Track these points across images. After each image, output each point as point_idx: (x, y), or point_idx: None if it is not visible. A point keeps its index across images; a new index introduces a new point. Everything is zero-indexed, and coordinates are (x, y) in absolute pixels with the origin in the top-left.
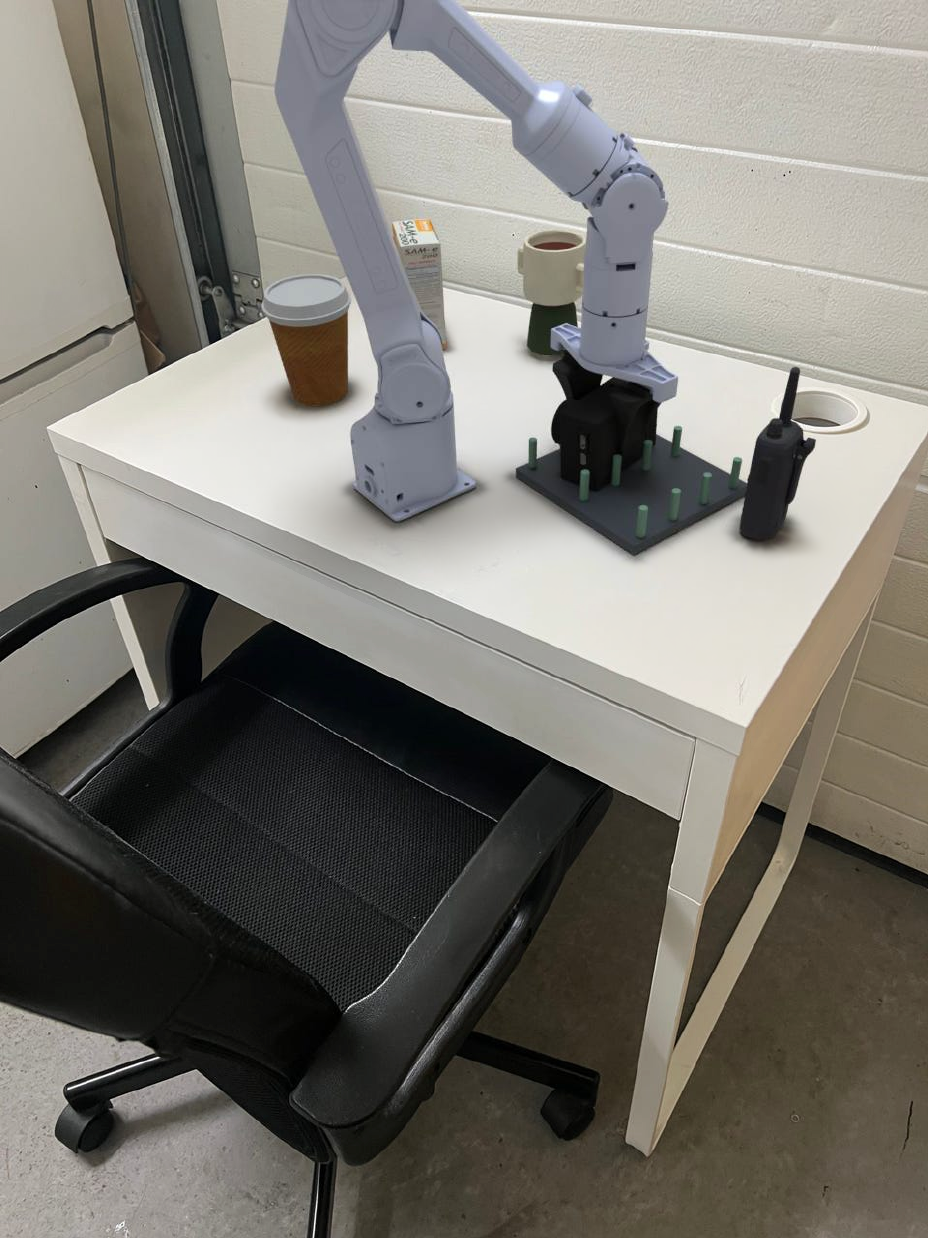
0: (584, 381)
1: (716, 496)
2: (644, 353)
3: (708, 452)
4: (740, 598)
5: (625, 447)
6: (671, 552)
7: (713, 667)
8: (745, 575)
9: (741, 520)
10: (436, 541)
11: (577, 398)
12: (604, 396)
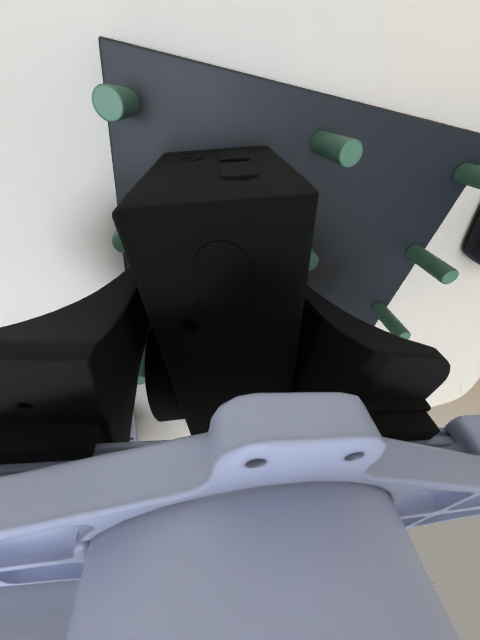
0: (128, 383)
1: (431, 221)
2: (394, 495)
3: (370, 2)
4: (460, 332)
5: None
6: (381, 326)
7: (440, 387)
8: (466, 306)
9: (477, 260)
10: (183, 431)
11: (137, 362)
12: (221, 374)
